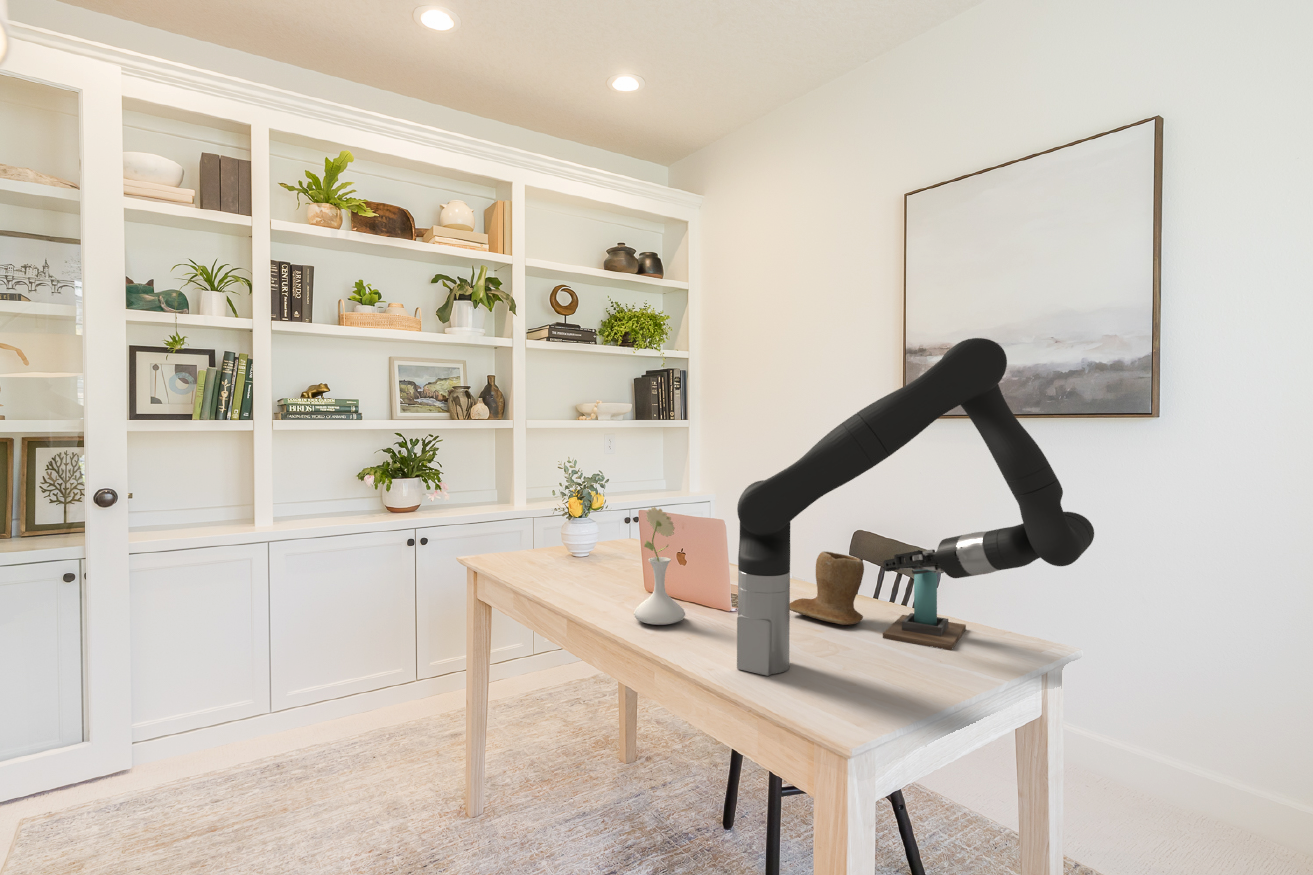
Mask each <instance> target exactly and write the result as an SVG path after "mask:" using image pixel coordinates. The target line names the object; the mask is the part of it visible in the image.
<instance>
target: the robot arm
mask: <svg viewBox="0 0 1313 875" xmlns="http://www.w3.org/2000/svg"><path fill="white" fill-rule="evenodd" d="M1007 367H1008V358H1007V354H1006V352H1005V350H1004V349H1003V347H1002V346H1001V345H1000V344H999V343H998V342H995V341H994V340H991V339H988V338H984V337H983V338H982V337H973V338H968V339H965V340H961V341H960V342H958V343H957V344H955V345H954V346H952V347H951V348H949V349H948V350H947V351H946V352H945V353H944V354H943V356H942V357H941V359H940V360H939V361H937V362H936V363H935V364H933V366H931V367H930V368H929V369H928V370H926V371H925V372H924V373H922V374H921V375H920V376H918V377H916V379H915V380H913V381H911V382H909V383H908V384H906V385H904V386H903V387H900V388H899V389H896V390H894V391H892V392H891V393H888V394H887V395H885V396H883V397H881V398H879V399H877V400H876V401H874V402H872V403H871V404H869V405H867V406H865V407H864V408H862V409H860V410H859V411H857V412H856V413H854V414H853V415H851V416H850V417H849V418H847V419H845V420H844V421H843V422H841V423H840V424H839V425H837V426H835V428H833V429H832V430H831V431H829V432H828V433H827V434H826V435H825V436H823V437H822V438H821V439H820V440H818V441H817V443H816V444H814V445H813V446H812V447H811V448H810V449H809V450H808V451H807V452H806V453H805V454H804V455H803V456H802V457H800V458H799V459H798V460H797V461H795V462H794V463H792V464H790V466H788V467H786V468H784V469H782V470H780V471H779V472H777V473H775V474H773V475H772V476H770V477H769V478H767V479H765V480H757V481H754V482H752V483H750V485H748V486H747V487H745V489H744V490H743V492H742V493H741V494H740V497H739V499H738V503H737V510H736V511H737V517H738V520H739V542H738V543H739V544H738V555H737V561H738V562H737V566H738V567H737V569H738V570H737V574H738V575H737V579H738V580H737V581H738V582H737V584H738V585H737V617H736V669H737V670H741V671H745V672H750V673H755V674H758V675H762V676H766V677H770V676H771V675H775V674H780V673H784V672H786V671H787V670H789V668H790V635H791V634H790V631H791V630H790V629H791V628H790V627H791V626H790V624H791V622H790V621H791V620H790V616H791V613H790V612H791V610H790V603H791V602H790V600H791V599H790V598H791V593H790V592H791V521H793V519H795V518H797V516H798V515H800V514H801V513H802V512H804V511H805V510H806V509H808V507H809V506H811V505H812V504H813V503H815V502H816V501H817V500H819V499H820V498H821V497H823V496H825V495H827V494H828V493H830V492H832V491H834V490H836V489H837V488H839V487H841V486H843V485H845V484H847V483H848V482H849V483H850V481H853V480H854V479H856V478H858V477H859V476H861V475H862V474H864V473H866V472H868V471H869V470H871V469H873V468H874V467H875V466H878V464H880V463H881V462H883V461H885V460H887V458H889V457H890V456H892V455H893V454H895V453H896V452H897V451H898V450H900V449H901V448H903V447H904V446H905V445H907V444H908V443H909V442H911V441H912V440H913V439H914V438H916V437H917V436H918V435H919V434H921V433H922V432H923V431H925V430H926V429H927V428H928V427H929V426H930V425H932V424H933V423H934V422H935V421H936V420H938V419H939V418H940V417H943V415H946V414H947V413H948V412H950V411H952V410H954V409H955V408H957V407H959V406H960V407H961V408H962V409H963V411H964V412H965V414H966V415H967V416H968V417H969V419H970V420H971V422H972V424H973V425H974V427H975V428H976V430H977V431H978V433H979V434H980V436H981V437H982V440H983V441H984V443H985V445H986V447H987V448H988V450H989V452H990V454H991V457H992V458H993V460H994V462H995V463H996V466H997V468H998V469H999V471H1000V472H1001V475H1002V476H1003V479H1004V481H1005V482H1006V484H1007V486H1008V488H1009V490H1010V492H1011V493H1012V495H1013V497H1014V499H1015V500H1016V502H1017V504H1018V508H1019V511H1020V516H1021V519H1022V523H1020V524H1017V525H1014V526H1007V527H1002V528H998V529H997V528H996V529H993V530H992V529H991V530H987V531H986V530H985V531H975V532H971V533H966V534H961V535H956V536H952V537H947V538H943V539H942V540H941V541H940V542H939V544H938V546H937V550H935V549H927V550H925V551H923V550H921V549H917V550H914V551H910V552H903V553H899V554H898V553H897V554H894V555H893V558H890V559H885V560H883V562H882V564H883V571H884V572H894V571H899V570H900V571H904V570H911V573H912V574H913V575H914V574H922V573H928V572H931V573H937V574H944V573H945V574H946V575H947V576H948V577H949V578H952V579H962V578H967V577H968V578H969V577H974V576H975V577H976V576H981V575H988V574H992V573H995V572H999V571H1004V570H1010V569H1016V568H1021V567H1025V566H1027V565H1030V564H1032V563H1033V562H1035V561H1036V560H1038V559H1041V560H1043V561H1044V562H1045V563H1046V564H1048V565H1052V566H1055V567H1066V566H1070V565H1072V564H1073V563H1075V562H1076V561H1077V560H1078V559H1079V558H1080V557H1081V556H1082V555H1083V554H1084V553H1085V552H1086V551H1087V549H1088V548H1089V547H1090V546H1091V545H1092V543H1093V541H1094V539H1095V529H1094V527H1093V524H1092V523H1091V522H1090V520H1089V519H1088V518H1087V517H1085V516H1084V515H1082V514H1080V513H1077V512H1074V511H1064V509H1063V507H1062V504H1061V502H1062V500H1063V498H1062V497H1063V494H1064V490H1063V487H1062V484H1061V483H1060V480H1059V479H1058V477H1057V475H1056V473H1055V471H1054V469H1053V468H1052V466H1051V464H1050V462H1049V461H1048V460H1049V459H1048V458H1047V457H1046V456H1045V454H1044V452H1043V451H1042V449H1041V448H1040V446H1039V445H1038V444H1037V442H1036V441H1035V440H1034V438H1033V437H1032V436H1031V435H1030V433H1029V432H1028V431H1027V430H1026V428H1024V426H1023V424H1021V422H1020V421H1019V420H1018V419H1017V418H1016V416H1015V414H1014V413H1013V412H1012V410H1011V408H1010V406H1009V405H1008V402H1007V401H1006V399H1005V398H1004V395H1003V393H1002V390H1001V388H1000V385H999V383H1000V382H1001V380H1002V379H1003V377H1004V376H1005V373H1006V370H1007Z"/></svg>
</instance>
